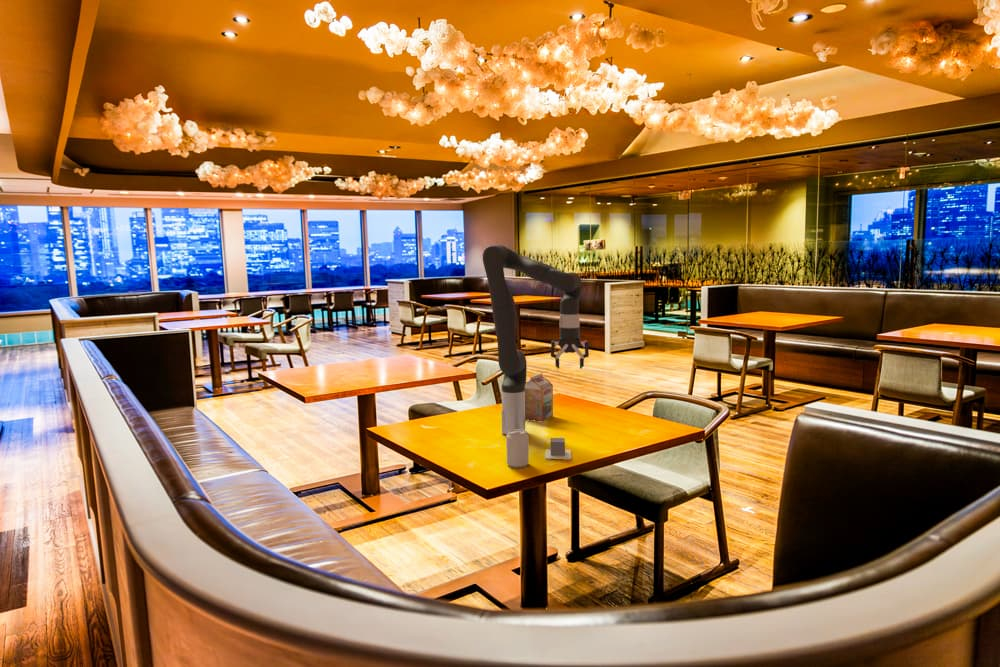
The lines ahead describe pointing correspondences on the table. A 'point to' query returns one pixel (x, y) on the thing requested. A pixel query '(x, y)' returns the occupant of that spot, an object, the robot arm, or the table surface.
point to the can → (517, 448)
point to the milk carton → (538, 398)
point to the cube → (557, 446)
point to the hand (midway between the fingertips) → (569, 368)
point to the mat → (567, 456)
